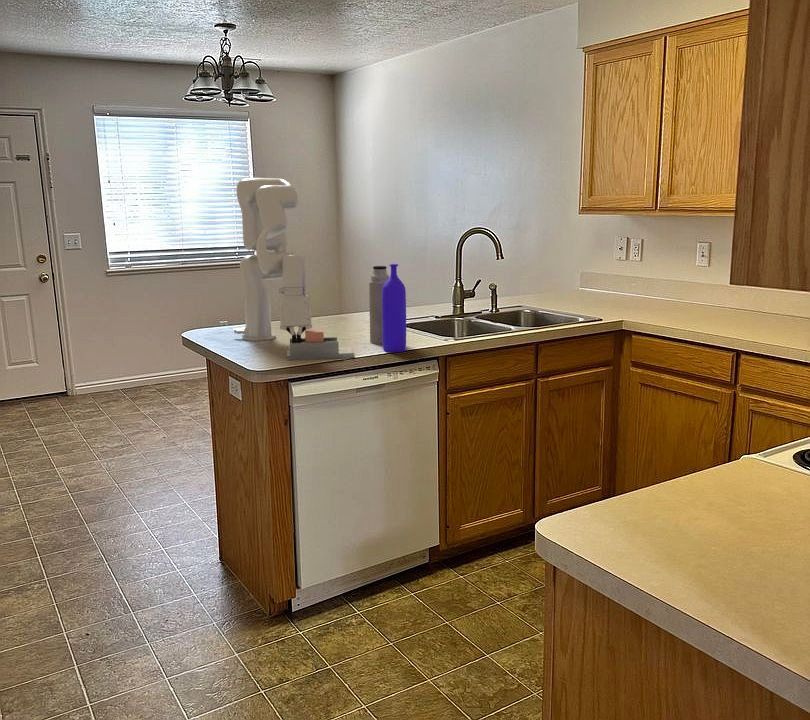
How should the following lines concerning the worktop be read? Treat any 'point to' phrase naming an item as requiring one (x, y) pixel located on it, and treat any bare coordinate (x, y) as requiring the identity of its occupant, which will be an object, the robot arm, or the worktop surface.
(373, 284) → the thermos bottle
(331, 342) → the chute
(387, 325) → the bottle
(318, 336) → the block
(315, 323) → the worktop surface
